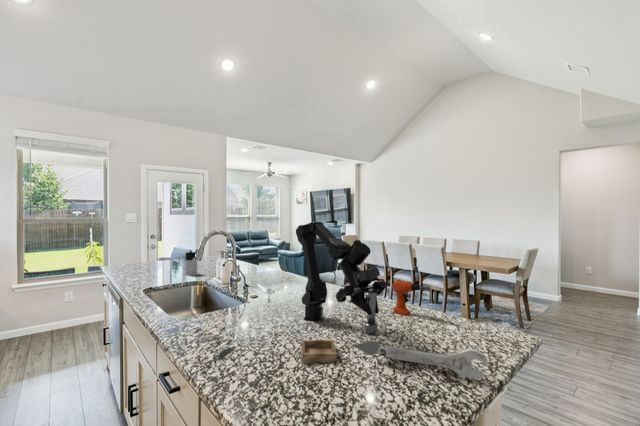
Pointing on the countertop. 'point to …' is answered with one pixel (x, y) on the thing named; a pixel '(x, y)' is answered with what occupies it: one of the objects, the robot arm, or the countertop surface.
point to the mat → (369, 347)
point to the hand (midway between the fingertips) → (374, 313)
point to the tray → (318, 351)
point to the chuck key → (370, 325)
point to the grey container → (190, 264)
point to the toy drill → (404, 295)
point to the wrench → (441, 359)
